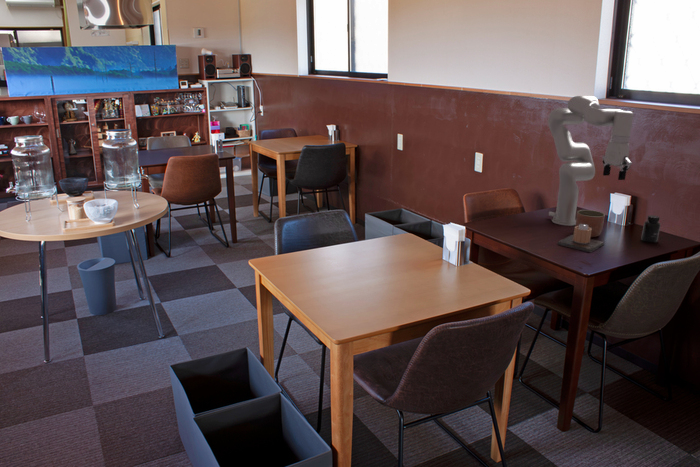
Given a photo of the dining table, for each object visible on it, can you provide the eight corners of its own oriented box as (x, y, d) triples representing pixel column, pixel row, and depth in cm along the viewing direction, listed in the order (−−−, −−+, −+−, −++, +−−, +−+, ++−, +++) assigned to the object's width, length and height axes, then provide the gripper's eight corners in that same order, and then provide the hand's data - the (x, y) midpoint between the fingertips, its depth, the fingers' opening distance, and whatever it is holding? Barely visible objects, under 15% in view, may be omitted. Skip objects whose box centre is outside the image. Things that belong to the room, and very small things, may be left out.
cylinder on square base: (557, 244, 250) (560, 224, 247) (571, 237, 260) (574, 218, 257) (590, 252, 240) (593, 232, 237) (603, 245, 250) (607, 225, 247)
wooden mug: (579, 243, 245) (581, 230, 243) (569, 238, 252) (571, 226, 250) (594, 242, 247) (596, 229, 245) (584, 237, 254) (586, 225, 252)
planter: (607, 237, 261) (611, 215, 258) (587, 240, 257) (590, 217, 253) (587, 230, 272) (591, 208, 269) (568, 232, 268) (571, 211, 264)
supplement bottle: (655, 244, 252) (660, 219, 248) (639, 241, 256) (644, 216, 252) (658, 240, 257) (663, 216, 253) (642, 237, 261) (646, 213, 257)
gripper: (599, 137, 248) (593, 174, 253) (626, 142, 232) (620, 181, 237) (613, 136, 250) (607, 173, 255) (641, 142, 234) (634, 181, 239)
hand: (613, 177), depth 246 cm, fingers open, 9 cm apart
